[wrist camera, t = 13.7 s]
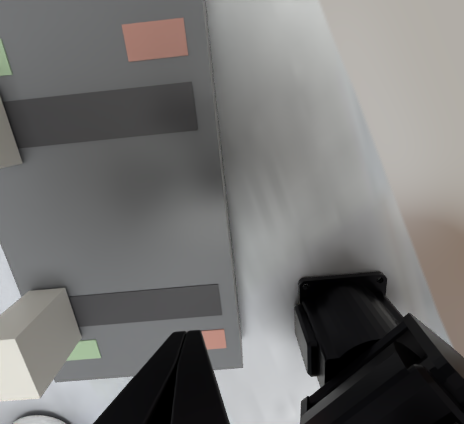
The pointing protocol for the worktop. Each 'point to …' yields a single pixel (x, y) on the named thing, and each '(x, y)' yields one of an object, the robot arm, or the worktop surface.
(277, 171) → the worktop surface
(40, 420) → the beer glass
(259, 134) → the worktop surface
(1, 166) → the off-white switch lever
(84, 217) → the switch panel
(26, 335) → the off-white block
